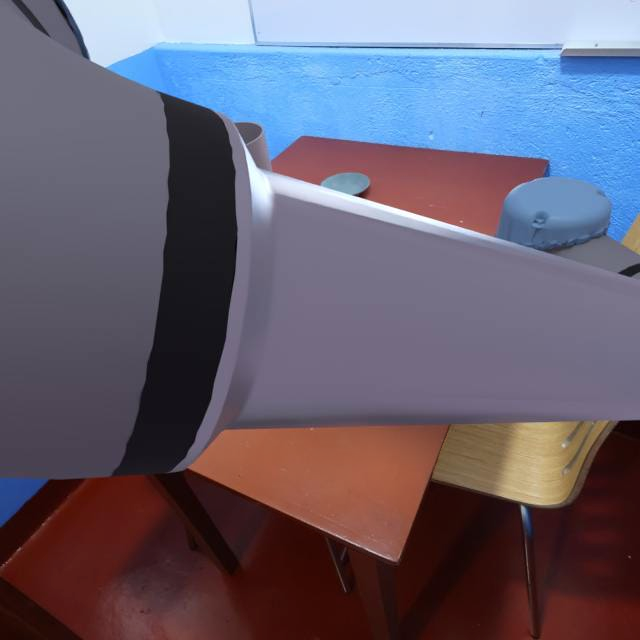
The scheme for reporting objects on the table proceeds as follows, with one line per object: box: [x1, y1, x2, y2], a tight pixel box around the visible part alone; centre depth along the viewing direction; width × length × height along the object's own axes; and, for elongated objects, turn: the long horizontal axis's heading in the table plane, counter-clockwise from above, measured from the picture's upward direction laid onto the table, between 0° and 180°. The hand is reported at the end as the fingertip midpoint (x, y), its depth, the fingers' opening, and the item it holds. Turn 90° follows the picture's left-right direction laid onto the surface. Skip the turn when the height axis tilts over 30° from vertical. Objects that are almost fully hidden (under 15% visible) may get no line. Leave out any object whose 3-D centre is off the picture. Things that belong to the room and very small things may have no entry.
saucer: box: [319, 172, 371, 197], centre depth 111 cm, size 12×12×2 cm
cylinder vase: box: [233, 121, 274, 172], centre depth 88 cm, size 12×12×25 cm
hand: (281, 253), depth 61 cm, fingers open, 13 cm apart
